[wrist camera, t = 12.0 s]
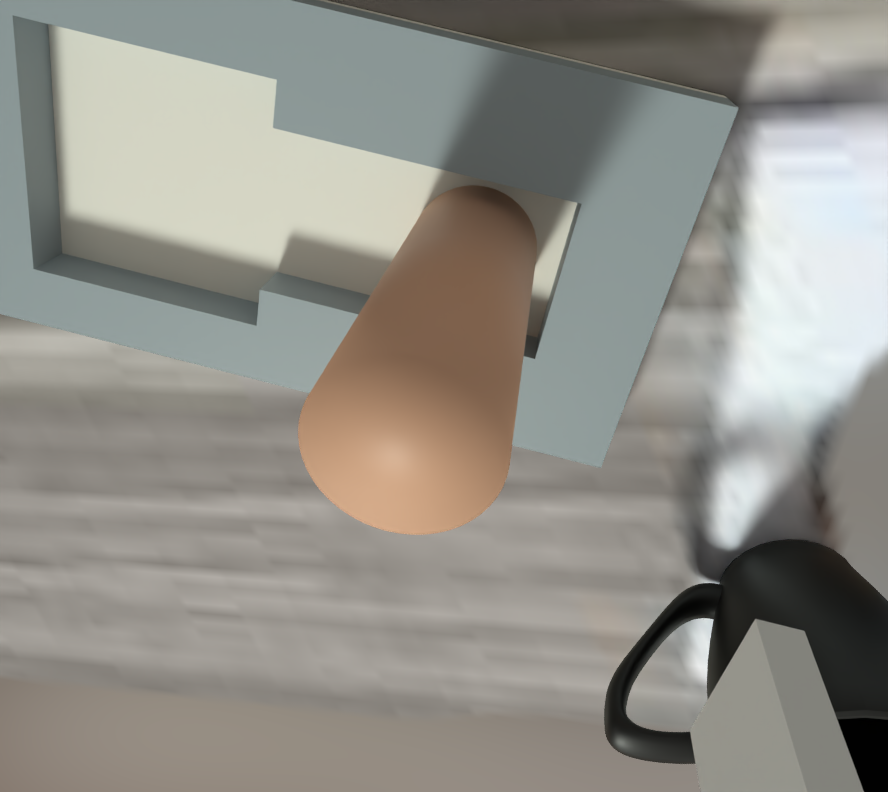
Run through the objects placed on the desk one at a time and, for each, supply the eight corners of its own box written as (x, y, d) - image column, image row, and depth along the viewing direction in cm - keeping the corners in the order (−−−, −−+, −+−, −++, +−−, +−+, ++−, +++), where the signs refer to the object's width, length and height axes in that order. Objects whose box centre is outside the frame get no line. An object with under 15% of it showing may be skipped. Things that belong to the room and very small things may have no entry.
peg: (402, 290, 28) (288, 506, 17) (425, 171, 26) (310, 328, 14) (519, 319, 28) (482, 555, 17) (551, 202, 26) (535, 384, 14)
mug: (616, 487, 31) (630, 670, 23) (921, 527, 30) (1049, 736, 22) (587, 628, 36) (590, 827, 27) (854, 669, 34) (941, 889, 26)
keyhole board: (27, 287, 31) (-12, 310, 29) (-6, -80, 24) (-60, -84, 22) (599, 433, 30) (600, 467, 28) (724, 95, 24) (738, 107, 22)
